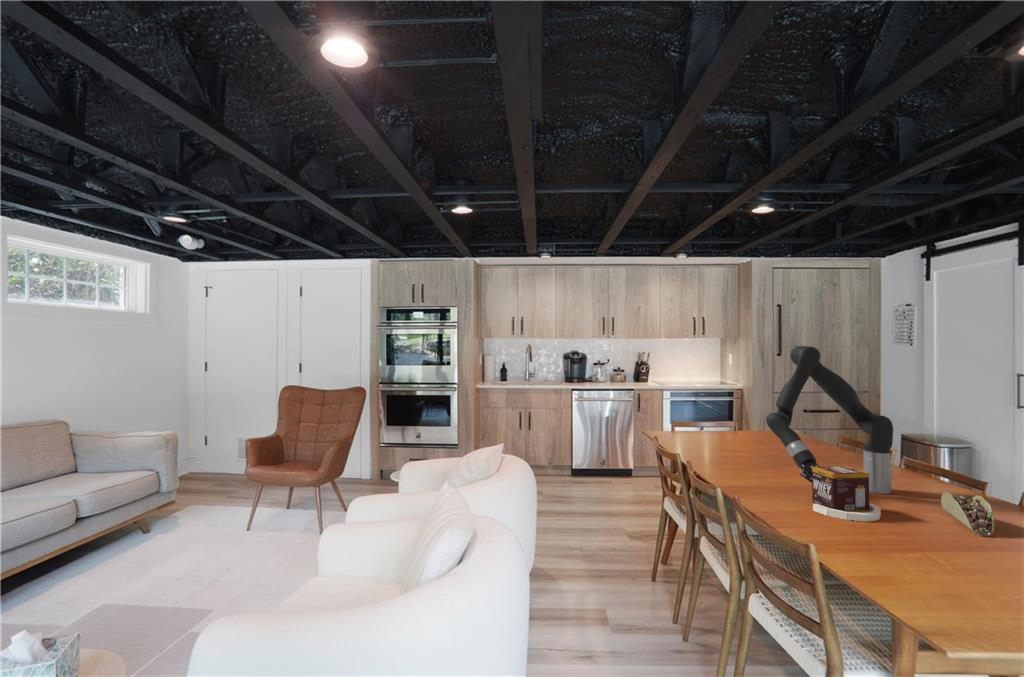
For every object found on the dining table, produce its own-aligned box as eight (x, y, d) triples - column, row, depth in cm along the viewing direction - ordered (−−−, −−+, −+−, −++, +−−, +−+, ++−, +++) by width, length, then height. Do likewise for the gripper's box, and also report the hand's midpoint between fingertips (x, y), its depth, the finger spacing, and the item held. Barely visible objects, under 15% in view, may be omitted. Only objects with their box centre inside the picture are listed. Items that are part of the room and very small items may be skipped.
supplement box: (811, 506, 183) (811, 466, 184) (847, 505, 185) (846, 465, 186) (832, 516, 173) (832, 473, 173) (870, 514, 175) (869, 472, 175)
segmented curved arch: (856, 505, 185) (856, 498, 185) (895, 517, 172) (895, 510, 172) (813, 510, 179) (812, 504, 179) (849, 524, 165) (849, 517, 165)
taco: (967, 513, 177) (966, 487, 177) (1004, 540, 152) (1004, 509, 152) (934, 510, 181) (933, 483, 181) (965, 535, 156) (965, 504, 157)
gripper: (793, 449, 193) (821, 488, 181) (818, 448, 196) (846, 485, 184) (782, 459, 198) (808, 498, 186) (807, 457, 201) (834, 495, 189)
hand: (827, 491), depth 185 cm, fingers closed
